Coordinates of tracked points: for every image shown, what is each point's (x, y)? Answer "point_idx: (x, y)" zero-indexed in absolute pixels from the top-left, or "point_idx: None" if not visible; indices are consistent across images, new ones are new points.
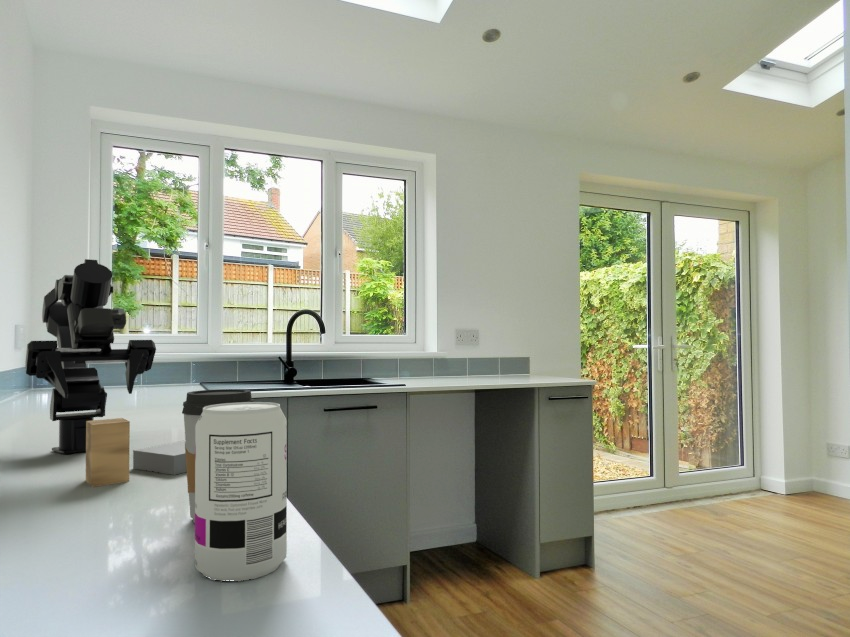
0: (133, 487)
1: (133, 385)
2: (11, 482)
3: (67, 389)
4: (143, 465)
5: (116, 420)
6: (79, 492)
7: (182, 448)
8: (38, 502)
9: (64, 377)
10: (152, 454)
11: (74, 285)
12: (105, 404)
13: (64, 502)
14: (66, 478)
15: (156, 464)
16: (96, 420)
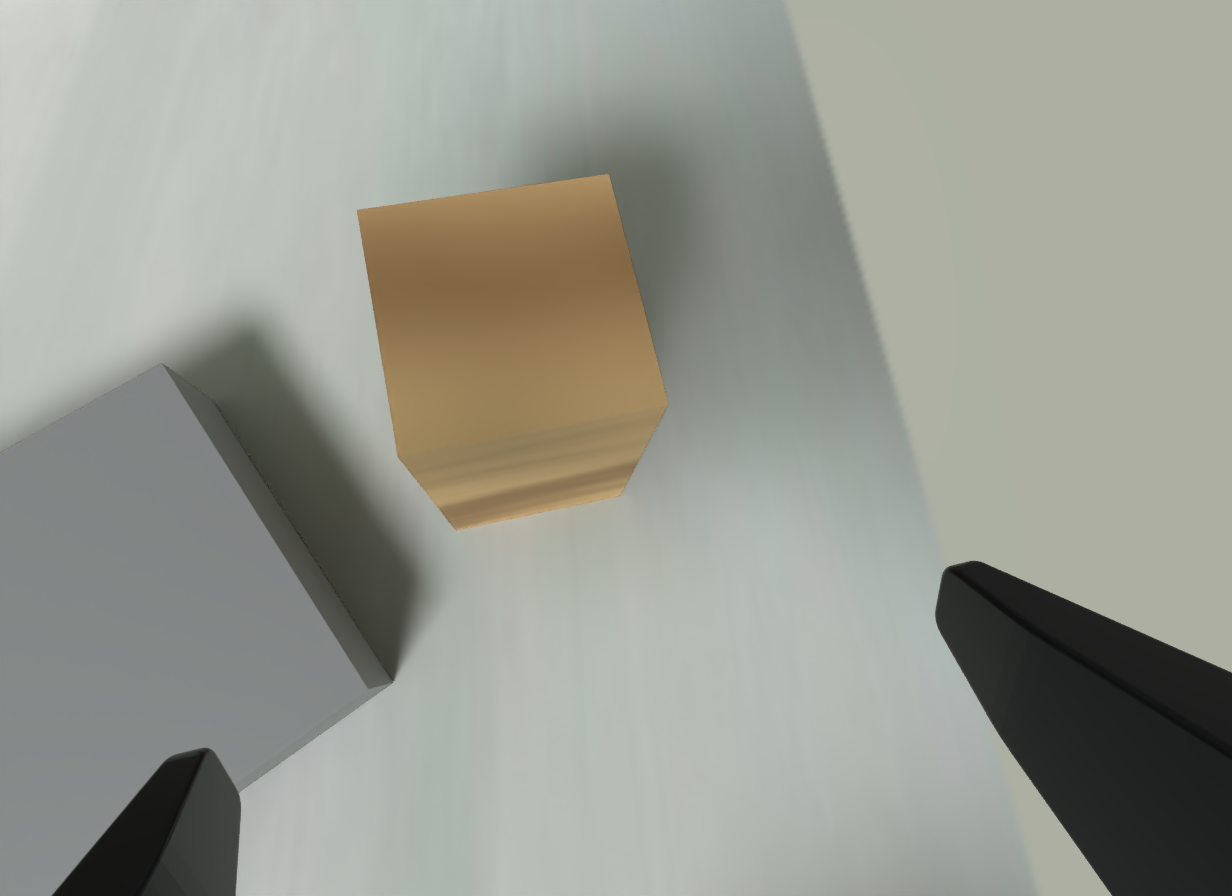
0: None
1: (116, 818)
2: None
3: (984, 588)
4: (335, 603)
5: (448, 315)
6: None
7: (54, 592)
8: (747, 191)
9: (1177, 711)
10: (267, 526)
11: None
12: None
13: (658, 146)
14: (712, 589)
15: (268, 505)
16: (595, 398)
